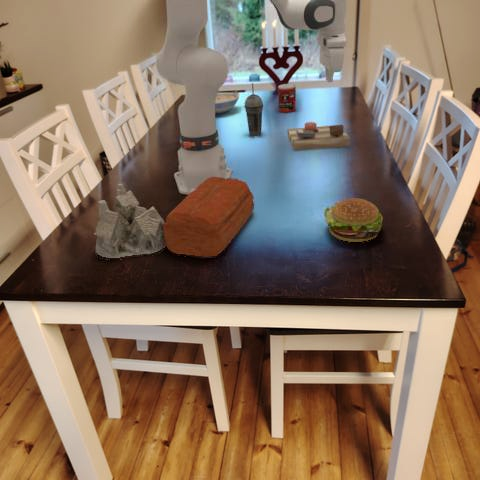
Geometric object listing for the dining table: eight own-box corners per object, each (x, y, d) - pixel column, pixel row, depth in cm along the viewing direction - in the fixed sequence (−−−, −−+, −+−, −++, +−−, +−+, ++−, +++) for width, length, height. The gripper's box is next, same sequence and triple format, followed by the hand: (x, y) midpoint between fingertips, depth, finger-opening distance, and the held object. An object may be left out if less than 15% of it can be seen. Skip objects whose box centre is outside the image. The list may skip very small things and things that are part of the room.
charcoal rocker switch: (314, 137, 165) (315, 133, 165) (298, 136, 165) (298, 132, 164) (312, 133, 169) (313, 130, 168) (296, 132, 168) (296, 129, 168)
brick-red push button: (317, 131, 171) (317, 125, 170) (305, 132, 171) (305, 126, 170) (315, 128, 175) (315, 121, 174) (303, 128, 175) (303, 122, 174)
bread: (258, 211, 127) (256, 175, 121) (220, 263, 106) (216, 222, 100) (207, 205, 132) (203, 170, 127) (160, 253, 111) (153, 214, 106)
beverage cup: (265, 131, 186) (263, 80, 176) (264, 137, 180) (261, 84, 170) (246, 132, 187) (243, 80, 177) (245, 138, 181) (242, 85, 170)
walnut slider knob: (343, 134, 166) (343, 126, 164) (330, 135, 166) (331, 127, 164) (341, 132, 168) (342, 124, 166) (329, 133, 168) (330, 125, 166)
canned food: (276, 113, 208) (276, 87, 202) (280, 108, 214) (280, 83, 209) (293, 113, 206) (293, 88, 200) (297, 108, 212) (297, 83, 207)
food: (328, 215, 122) (329, 188, 117) (384, 222, 117) (387, 193, 113) (316, 242, 111) (317, 212, 107) (377, 250, 106) (380, 219, 102)
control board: (349, 146, 165) (350, 136, 163) (293, 150, 165) (293, 141, 163) (339, 132, 179) (339, 123, 177) (287, 136, 179) (287, 127, 177)
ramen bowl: (182, 119, 209) (180, 100, 205) (198, 105, 228) (196, 88, 224) (236, 119, 203) (235, 100, 199) (248, 105, 222) (247, 88, 218)
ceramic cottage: (87, 249, 114) (76, 194, 106) (141, 225, 124) (135, 174, 117) (124, 275, 105) (115, 217, 97) (179, 247, 115) (175, 192, 108)
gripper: (315, 35, 163) (314, 76, 170) (328, 42, 145) (326, 87, 152) (333, 34, 163) (331, 75, 170) (348, 41, 146) (345, 86, 152)
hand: (329, 81), depth 161 cm, fingers closed
